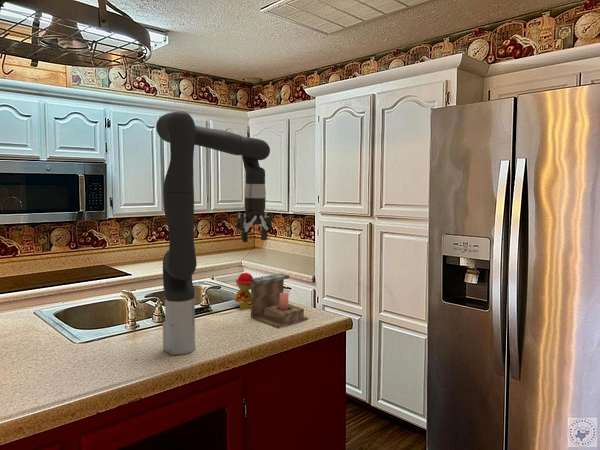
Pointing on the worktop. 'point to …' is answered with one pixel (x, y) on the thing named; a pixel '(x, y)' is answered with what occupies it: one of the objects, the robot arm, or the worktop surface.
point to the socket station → (272, 302)
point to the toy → (244, 290)
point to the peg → (283, 301)
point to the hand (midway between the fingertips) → (254, 241)
